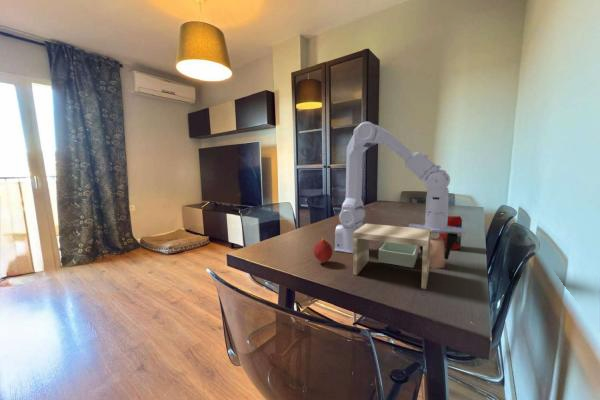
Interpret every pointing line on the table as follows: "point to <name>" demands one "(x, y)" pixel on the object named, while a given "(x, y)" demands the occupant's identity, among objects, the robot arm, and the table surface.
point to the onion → (323, 251)
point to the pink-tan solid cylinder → (437, 252)
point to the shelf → (395, 236)
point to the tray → (398, 254)
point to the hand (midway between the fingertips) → (434, 256)
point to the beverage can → (453, 221)
